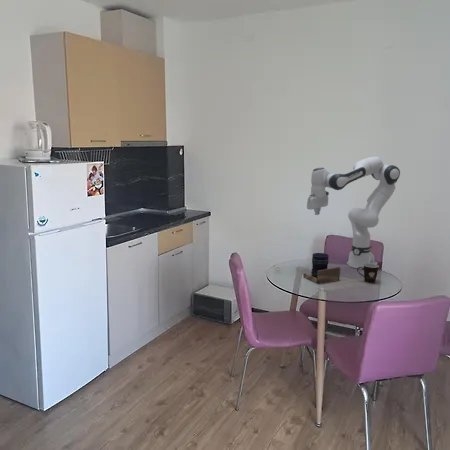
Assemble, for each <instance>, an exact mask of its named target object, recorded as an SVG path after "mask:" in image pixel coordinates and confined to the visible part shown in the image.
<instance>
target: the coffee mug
mask: <svg viewBox="0 0 450 450" xmlns="http://www.w3.org/2000/svg"><path fill="white" fill-rule="evenodd" d="M379 267H380V266H379V264H377V265H376V264H364V268H363V267H359V268H362V269H361V270H363V274H362V273H361V272H360V271H359V270H360V269H359V268H356V271H357V272H358V274H359V275H360V276H362V277H363V278H364V280H363V281H364V282H365V283H368V284H374V283H376V281H377V276H378V273H379V272H378V271H379Z"/></svg>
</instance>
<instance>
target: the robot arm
mask: <svg viewBox="0 0 450 450" xmlns="http://www.w3.org/2000/svg"><path fill="white" fill-rule="evenodd" d="M383 163H384V162H383V160H382V159H381V157H379V156H369V157H366V158H362V159H360V160H358V161H356V162H355V163H353V166H352V170H351V171H350V170H349V172H346V173H336V172H335V173H334V172H331V171H330V170H327V169H326V168H324V167H316V168H314V169H313V170H312V172H311V179H310V181H311V187H310V194H309V197H307V202H306V208H307V210H311V211H312V210H313V211H314V215H315V216H319V215H320V214H321V213H320V212H321V210H322V208H324V207H325V208H326V207H328V205H329V195H330V192H329V191H327V190H326V188H329V189H333V190H335V191H340V190H343V189H344V188H345V187H346V186H347V185H349V184H350V183H352V182H354V181H357V180H359V179H361V178H365V177H367V176H372V178H373V179H374V180H377V181H379V182H378V185H377V187H375V189H374V190H373V191H372V193H371V194H369V196H368V198H367V199H366V201H367V202H366V206H365V207H364V208H361V207H354V208H352V209H350V210H349V211H348V215H347V216H348V219H349V221H350V224H351V228H352V245H351V251H350V252H349V254H348V261H346V264H347V265H348V266H349V267H350V268H354V269H357V268H359V267H363V268H364V264H376V265H379V264H378V262H377V261H376V260H375V255H374V254H373V253H372V251H371V249H373V246H372V245H371V234H370V232H369V229H370V228H372V229H373V228H375V227H377V226H378V224H379V220H380V219H379V215H380V212H381V211H382V208H383V207H384V206H385V205H386V203H387V202H388V201H389V199H391V197H392V196H393V194H394V192H395V190H396V185H395V184H396V183H397V182H398V180H399V179H400V176H401V171H400V168H399V167H398V166H396V165H393V164H388V163H387V164H383ZM368 228H369V229H368ZM360 269H361V270H363V269H362V268H359V269H358V270H360Z"/></svg>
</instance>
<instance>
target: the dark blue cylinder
mask: <svg viewBox="0 0 450 450" xmlns="http://www.w3.org/2000/svg"><path fill="white" fill-rule="evenodd" d="M329 256H330V255H329V254H327V253H323V252H316V253H315V252H314V253H312V258H311V259H312V260H311V264H312V265H311V266H312V268H311V276H313V277H315V278H317V271H318V270H324V269H328V266H329V265H328V264H329Z"/></svg>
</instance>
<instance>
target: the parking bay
mask: <svg viewBox="0 0 450 450" xmlns="http://www.w3.org/2000/svg"><path fill="white" fill-rule="evenodd" d="M340 275H341V267H339V266H338V267H330V268H327V269H324V270H318V271H317V278H315V277H313V276H312V275H310V274H308V273H307V272H306V273H303V279H304V278H305V279H306V280H308V281H311V282H313V283H315V284H317V285H321V284H325V282H327V283H331V281H332V282H336V281H335V280H338V281H340V278H341V276H340ZM320 283H321V284H320Z"/></svg>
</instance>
